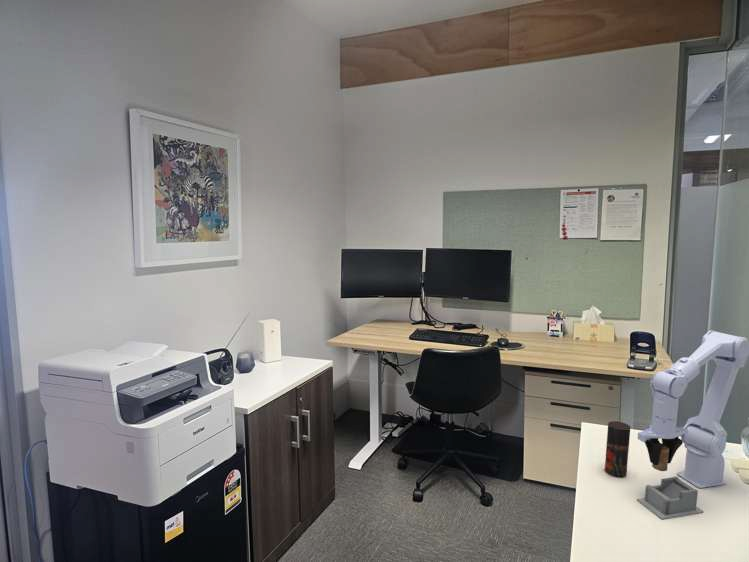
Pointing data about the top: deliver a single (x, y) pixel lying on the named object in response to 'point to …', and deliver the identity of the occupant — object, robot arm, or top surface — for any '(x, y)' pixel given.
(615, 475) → the deodorant
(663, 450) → the dowel
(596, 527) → the top surface
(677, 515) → the socket
